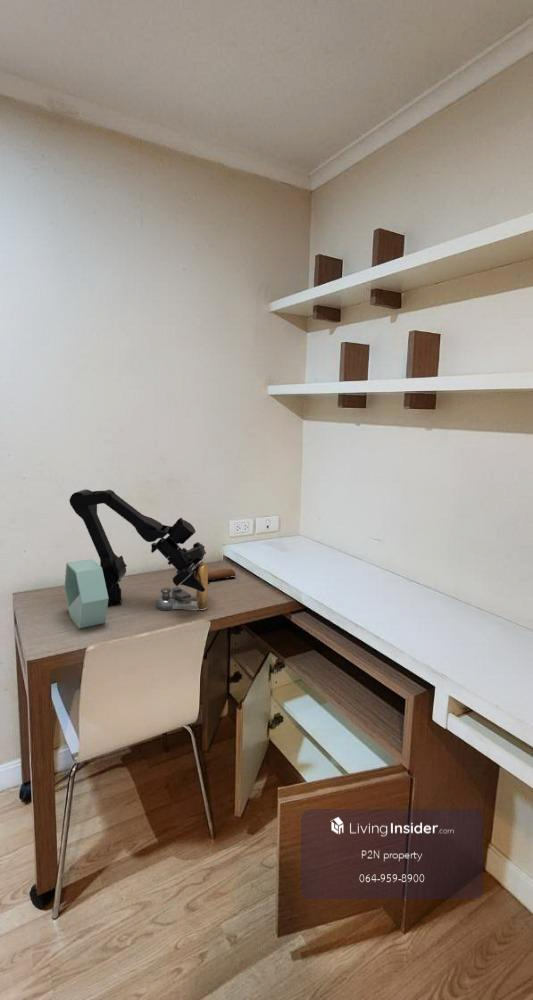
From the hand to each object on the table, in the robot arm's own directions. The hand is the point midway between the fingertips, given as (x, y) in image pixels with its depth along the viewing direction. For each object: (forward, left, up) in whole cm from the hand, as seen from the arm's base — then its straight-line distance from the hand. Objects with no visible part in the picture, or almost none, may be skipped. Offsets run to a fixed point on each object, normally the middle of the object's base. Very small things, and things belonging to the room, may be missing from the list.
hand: (206, 587), depth 167 cm
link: (-7, +4, -7) cm, 11 cm away
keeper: (-6, +8, -8) cm, 13 cm away
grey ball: (-12, +7, -4) cm, 14 cm away
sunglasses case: (+13, +28, -8) cm, 32 cm away
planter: (-37, +7, -8) cm, 38 cm away
